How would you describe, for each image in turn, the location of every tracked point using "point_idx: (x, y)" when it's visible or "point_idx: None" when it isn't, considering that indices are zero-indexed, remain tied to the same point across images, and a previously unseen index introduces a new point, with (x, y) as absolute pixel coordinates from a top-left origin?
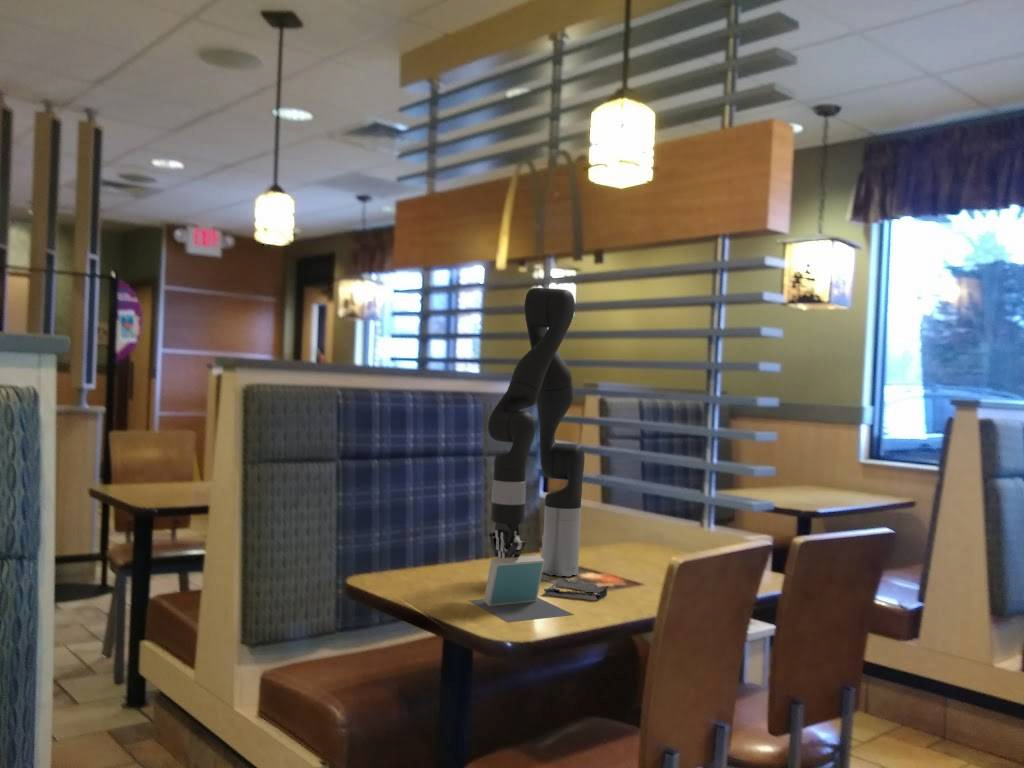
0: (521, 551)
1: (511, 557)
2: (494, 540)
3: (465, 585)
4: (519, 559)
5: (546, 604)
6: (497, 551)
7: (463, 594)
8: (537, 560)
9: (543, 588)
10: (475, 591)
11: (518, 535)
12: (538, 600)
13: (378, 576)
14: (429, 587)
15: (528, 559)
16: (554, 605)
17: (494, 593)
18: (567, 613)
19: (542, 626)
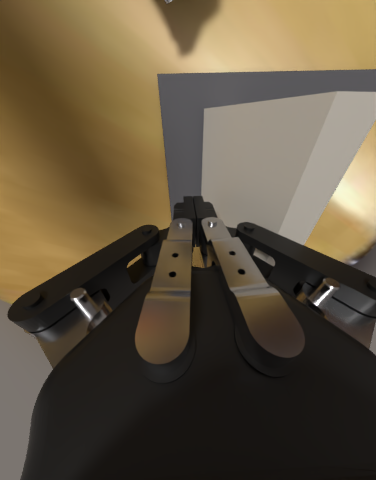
0: (315, 253)
1: (267, 261)
2: (113, 307)
3: (41, 204)
4: (292, 238)
5: (272, 95)
6: (155, 268)
7: (120, 232)
8: (353, 152)
9: (167, 2)
10: (96, 204)
11: (366, 352)
12: (227, 95)
13: (9, 293)
14: (71, 260)
15: (316, 200)
16: (295, 72)
17: None
18: (374, 85)
19: (356, 195)
